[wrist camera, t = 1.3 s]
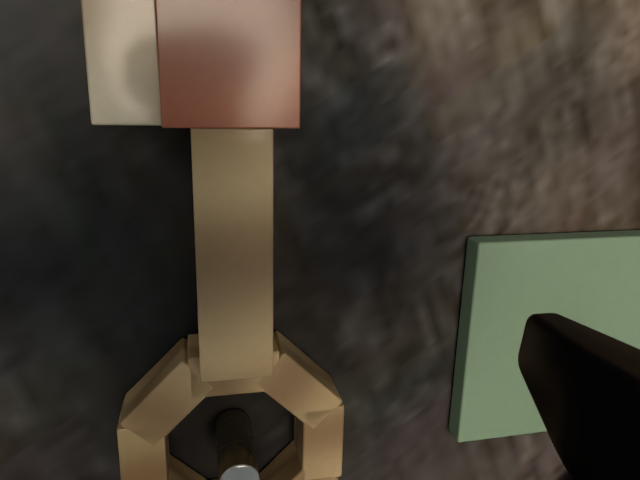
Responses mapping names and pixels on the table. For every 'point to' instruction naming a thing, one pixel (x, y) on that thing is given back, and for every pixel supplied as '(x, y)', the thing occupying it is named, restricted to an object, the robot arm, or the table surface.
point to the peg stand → (532, 298)
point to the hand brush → (216, 214)
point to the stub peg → (235, 447)
